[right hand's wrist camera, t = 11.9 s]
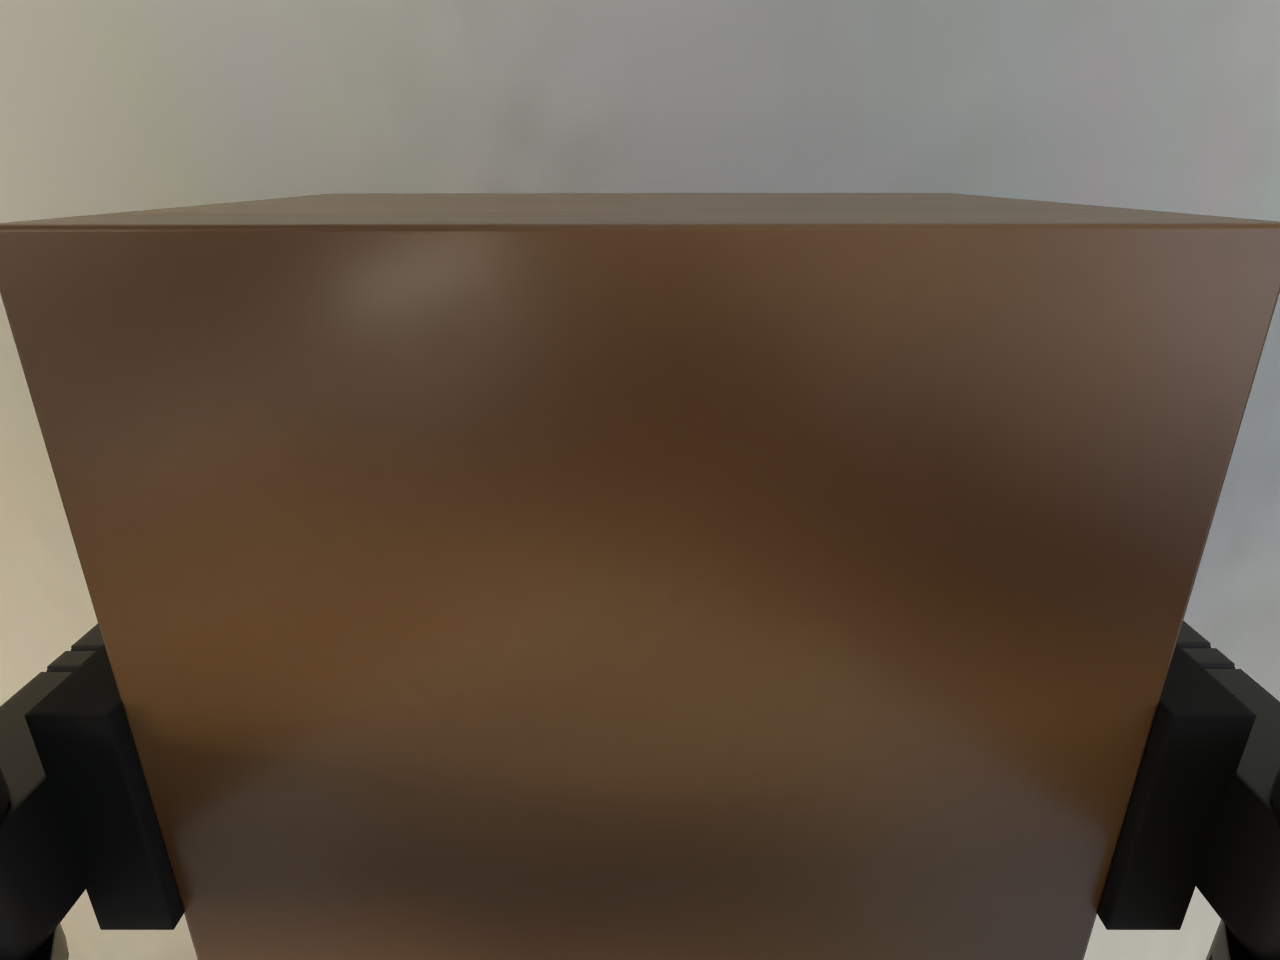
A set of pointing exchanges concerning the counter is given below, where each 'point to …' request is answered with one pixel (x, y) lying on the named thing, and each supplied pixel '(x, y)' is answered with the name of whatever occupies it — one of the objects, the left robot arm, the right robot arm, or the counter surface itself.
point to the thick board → (640, 555)
